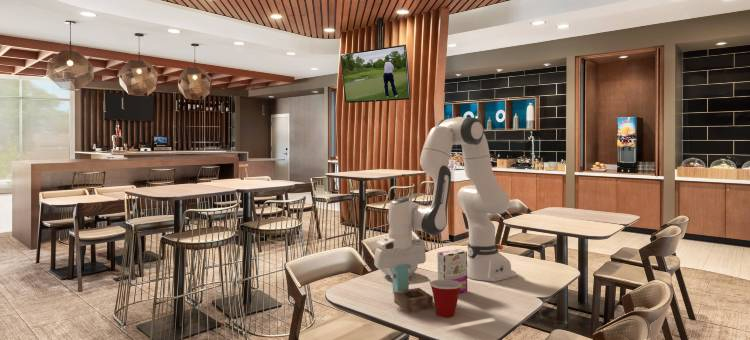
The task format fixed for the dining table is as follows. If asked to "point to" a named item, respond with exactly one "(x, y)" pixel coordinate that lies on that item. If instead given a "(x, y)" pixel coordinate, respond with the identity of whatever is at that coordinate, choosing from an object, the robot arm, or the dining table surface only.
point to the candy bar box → (453, 267)
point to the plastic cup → (445, 296)
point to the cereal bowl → (392, 270)
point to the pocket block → (413, 299)
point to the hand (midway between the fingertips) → (400, 277)
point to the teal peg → (401, 278)
